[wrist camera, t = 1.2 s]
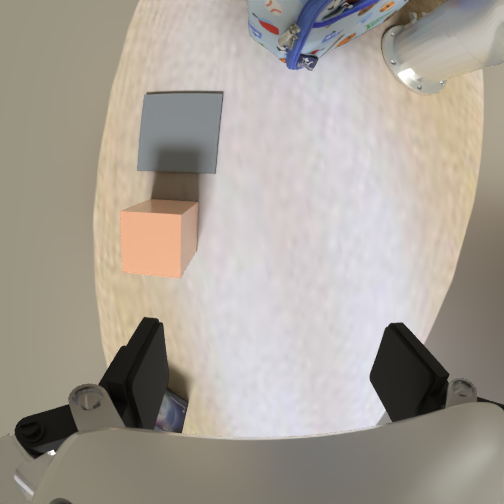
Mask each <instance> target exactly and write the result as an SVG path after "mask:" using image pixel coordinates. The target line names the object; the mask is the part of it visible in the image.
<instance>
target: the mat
mask: <svg viewBox="0 0 504 504" xmlns="http://www.w3.org/2000/svg"><path fill="white" fill-rule="evenodd" d="M222 100H223V94H216V93H170V94H149V95H144V101H143V109H142V118H141V127H140V138H139V151H138V166H137V171H170V172H195V173H213V174H215V173H216V161H217V149H218V138H219V128H220V118H221V109H222Z"/></svg>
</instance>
